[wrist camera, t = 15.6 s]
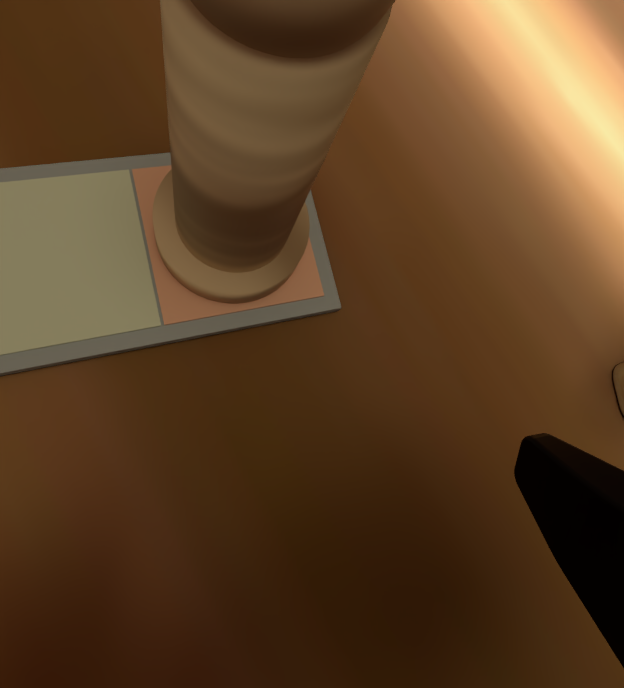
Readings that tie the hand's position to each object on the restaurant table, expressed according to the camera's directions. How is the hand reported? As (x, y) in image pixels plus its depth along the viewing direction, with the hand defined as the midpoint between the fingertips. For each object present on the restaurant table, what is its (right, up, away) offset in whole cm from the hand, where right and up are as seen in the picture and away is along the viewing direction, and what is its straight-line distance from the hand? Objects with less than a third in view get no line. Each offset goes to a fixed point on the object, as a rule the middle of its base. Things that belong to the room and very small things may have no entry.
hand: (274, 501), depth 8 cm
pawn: (-2, +7, +10) cm, 12 cm away
